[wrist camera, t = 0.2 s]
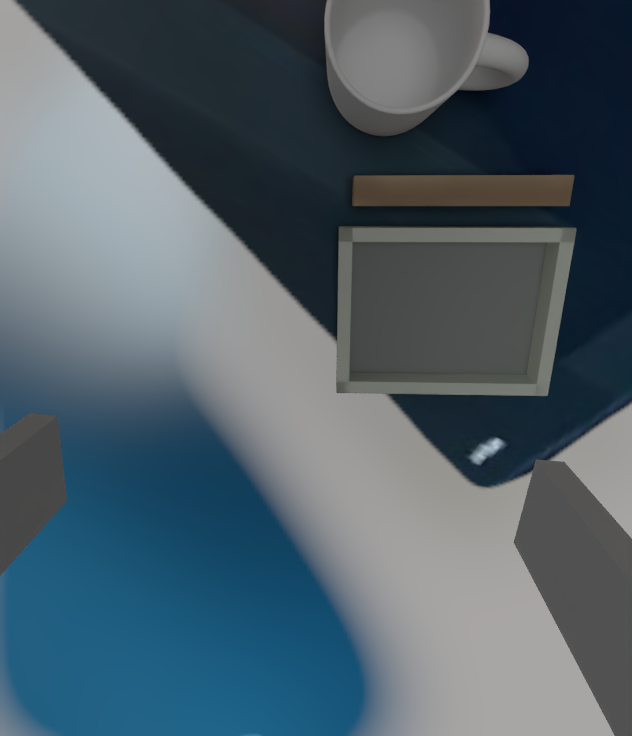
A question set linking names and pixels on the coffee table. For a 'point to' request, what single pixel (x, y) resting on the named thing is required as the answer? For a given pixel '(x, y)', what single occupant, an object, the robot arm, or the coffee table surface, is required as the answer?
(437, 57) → the mug
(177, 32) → the coffee table surface
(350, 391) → the frame
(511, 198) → the edge rail
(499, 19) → the coffee table surface
